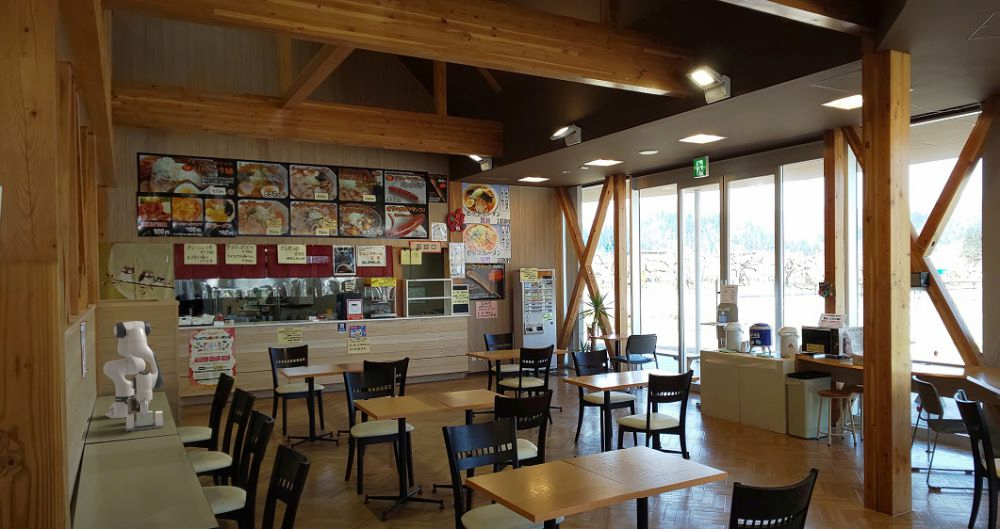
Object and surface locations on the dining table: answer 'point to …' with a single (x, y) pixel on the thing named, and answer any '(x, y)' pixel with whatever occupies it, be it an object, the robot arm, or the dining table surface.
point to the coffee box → (134, 407)
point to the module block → (145, 422)
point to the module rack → (133, 426)
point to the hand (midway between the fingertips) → (144, 418)
